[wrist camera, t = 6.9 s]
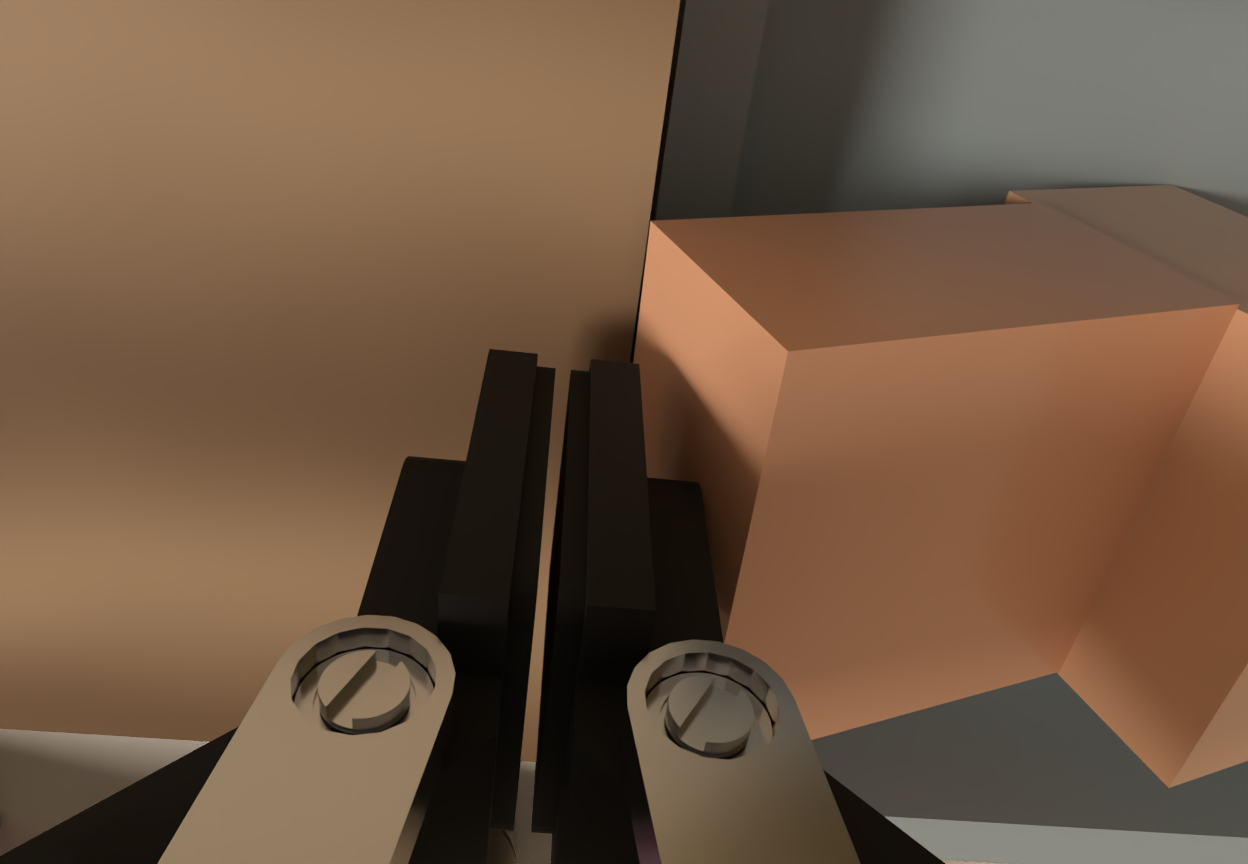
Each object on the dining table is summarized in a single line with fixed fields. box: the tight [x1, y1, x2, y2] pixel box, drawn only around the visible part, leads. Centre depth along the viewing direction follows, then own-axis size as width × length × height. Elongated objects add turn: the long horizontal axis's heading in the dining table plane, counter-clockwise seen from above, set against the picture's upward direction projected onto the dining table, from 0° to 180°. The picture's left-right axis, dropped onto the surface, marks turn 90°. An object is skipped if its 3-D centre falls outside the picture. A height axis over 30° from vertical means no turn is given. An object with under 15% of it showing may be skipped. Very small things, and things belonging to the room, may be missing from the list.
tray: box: [630, 0, 1248, 864], centre depth 14 cm, size 14×14×5 cm
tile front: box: [633, 203, 1240, 740], centre depth 12 cm, size 6×6×3 cm
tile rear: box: [1005, 185, 1248, 788], centre depth 13 cm, size 6×6×3 cm
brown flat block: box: [0, 0, 680, 762], centre depth 13 cm, size 13×12×4 cm
